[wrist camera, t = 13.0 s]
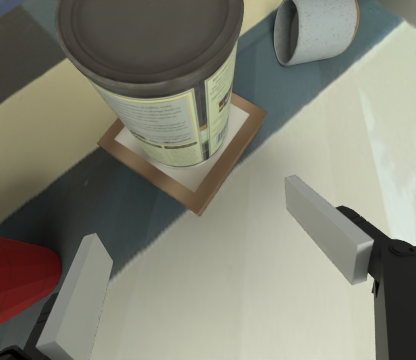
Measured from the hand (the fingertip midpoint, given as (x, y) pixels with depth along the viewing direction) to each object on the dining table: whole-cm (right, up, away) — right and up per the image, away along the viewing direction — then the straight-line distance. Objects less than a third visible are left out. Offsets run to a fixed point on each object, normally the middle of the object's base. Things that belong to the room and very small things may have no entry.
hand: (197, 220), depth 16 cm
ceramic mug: (+14, +23, +18) cm, 32 cm away
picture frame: (-2, +8, +14) cm, 16 cm away
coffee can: (-2, +9, +11) cm, 14 cm away
